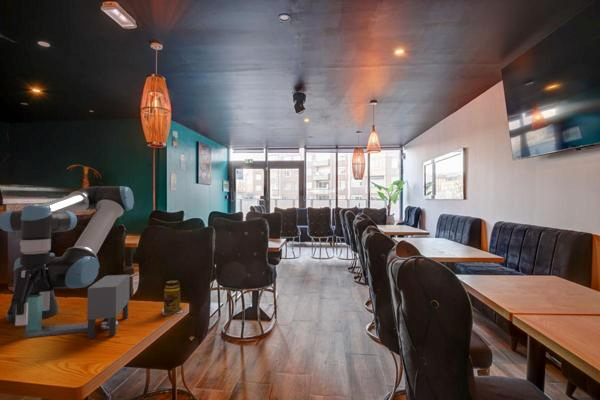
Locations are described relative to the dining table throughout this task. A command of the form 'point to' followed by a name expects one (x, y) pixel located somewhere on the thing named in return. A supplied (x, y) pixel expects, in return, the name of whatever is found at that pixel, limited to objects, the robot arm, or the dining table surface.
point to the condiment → (172, 298)
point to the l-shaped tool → (36, 328)
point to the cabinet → (108, 301)
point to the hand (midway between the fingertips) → (33, 317)
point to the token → (107, 325)
